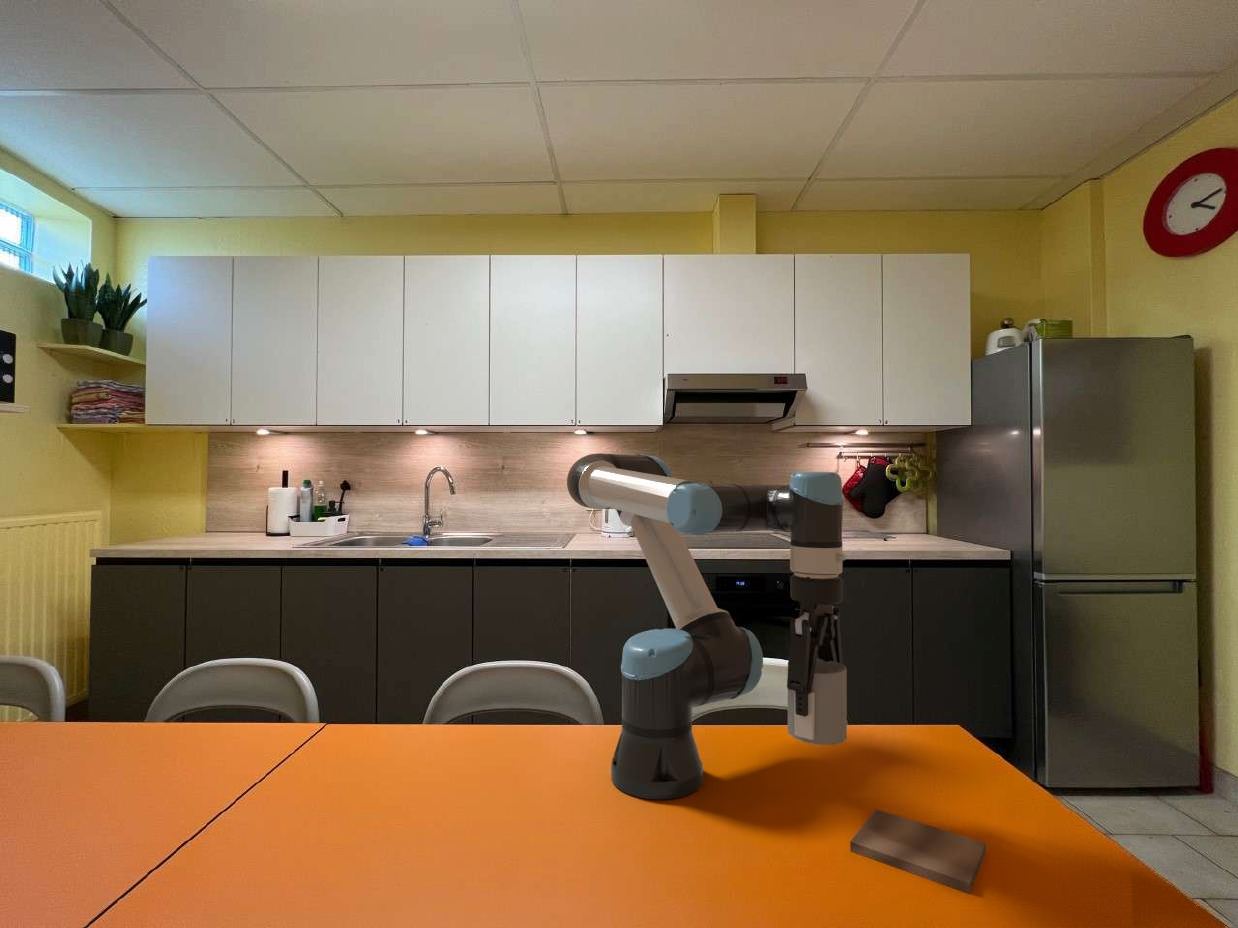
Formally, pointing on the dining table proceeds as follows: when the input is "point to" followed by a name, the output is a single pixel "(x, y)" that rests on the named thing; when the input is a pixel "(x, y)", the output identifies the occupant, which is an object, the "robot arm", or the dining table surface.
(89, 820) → the dining table surface
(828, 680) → the cup
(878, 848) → the walnut board
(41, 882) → the dining table surface
